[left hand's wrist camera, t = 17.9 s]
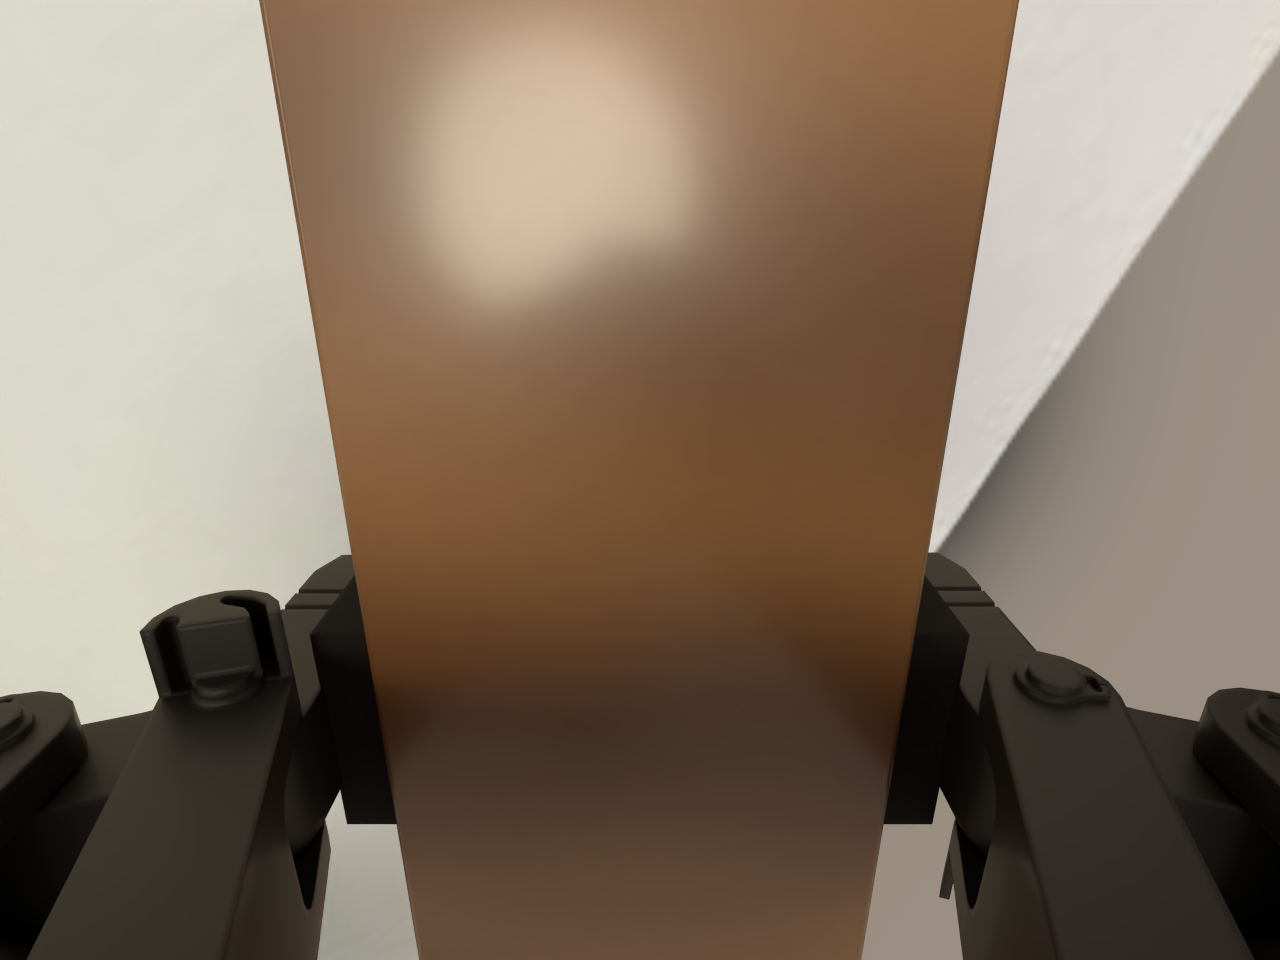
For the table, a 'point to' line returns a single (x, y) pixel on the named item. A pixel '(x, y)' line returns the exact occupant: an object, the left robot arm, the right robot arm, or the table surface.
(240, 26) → the table surface
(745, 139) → the post
